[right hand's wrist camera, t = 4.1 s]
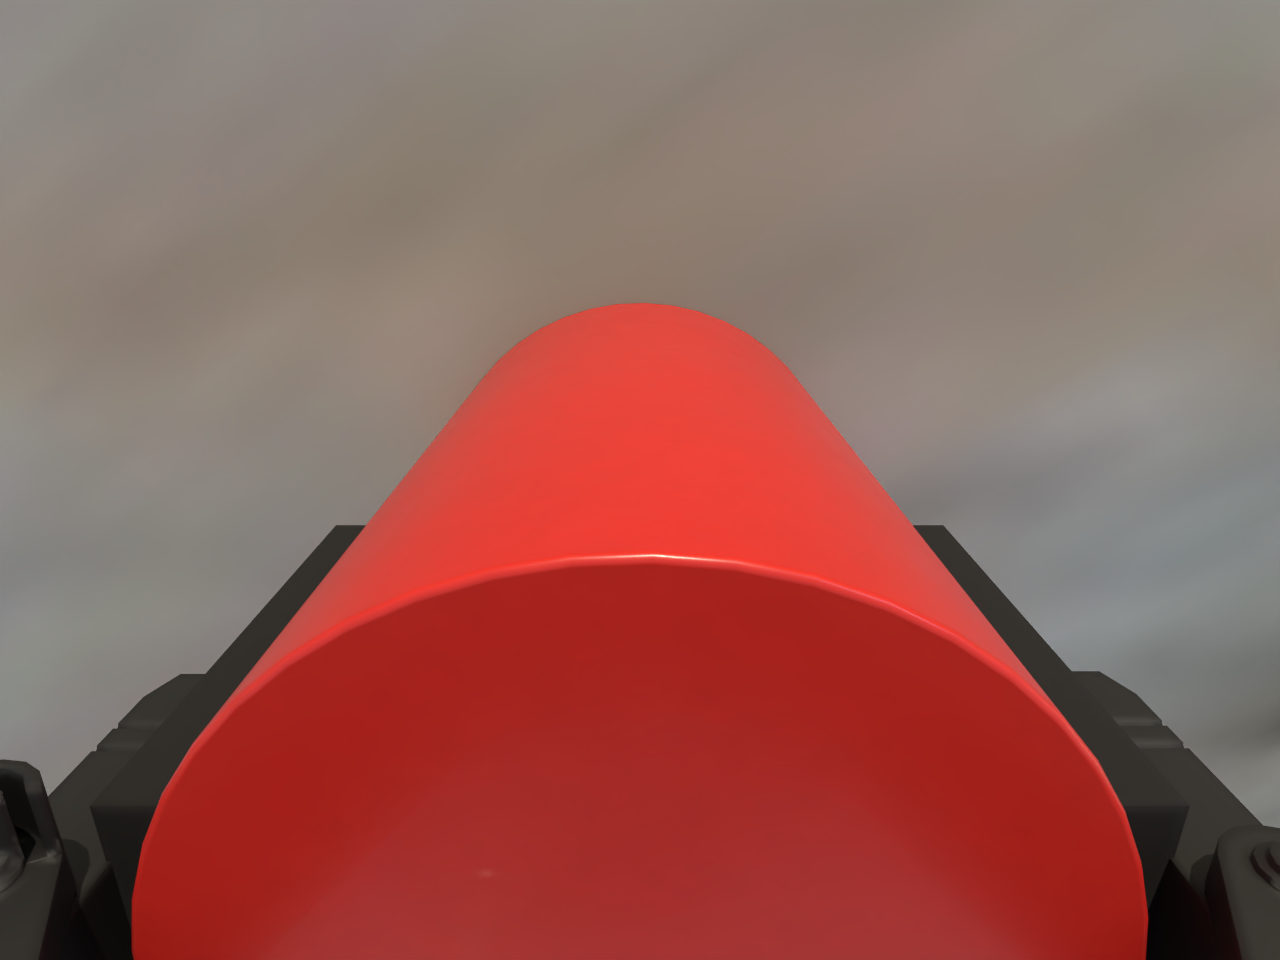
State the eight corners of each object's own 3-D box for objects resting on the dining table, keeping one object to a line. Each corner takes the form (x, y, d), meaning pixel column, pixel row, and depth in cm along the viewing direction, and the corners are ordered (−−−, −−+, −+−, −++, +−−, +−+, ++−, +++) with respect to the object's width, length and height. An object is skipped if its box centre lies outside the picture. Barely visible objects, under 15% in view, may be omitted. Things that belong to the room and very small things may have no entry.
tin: (891, 368, 17) (1368, 725, 6) (757, 696, 20) (907, 1353, 9) (494, 250, 17) (173, 405, 5) (414, 611, 20) (98, 1217, 8)
